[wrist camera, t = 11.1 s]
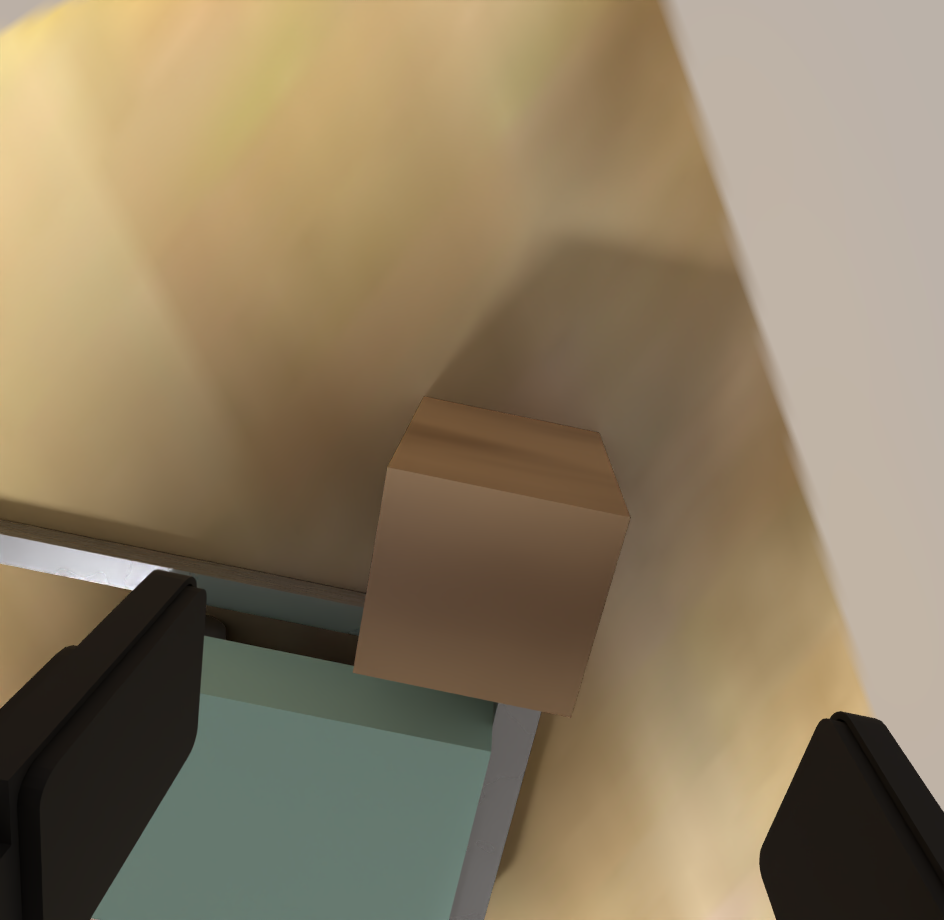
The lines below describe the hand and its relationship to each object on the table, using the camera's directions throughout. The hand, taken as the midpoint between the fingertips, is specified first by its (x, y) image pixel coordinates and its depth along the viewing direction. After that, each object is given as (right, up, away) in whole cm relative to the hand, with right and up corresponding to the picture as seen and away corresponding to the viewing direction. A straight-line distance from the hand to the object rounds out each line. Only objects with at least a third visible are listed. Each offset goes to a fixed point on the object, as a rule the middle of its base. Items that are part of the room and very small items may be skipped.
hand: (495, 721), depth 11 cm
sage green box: (-6, -5, +13) cm, 16 cm away
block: (0, +3, +10) cm, 11 cm away
